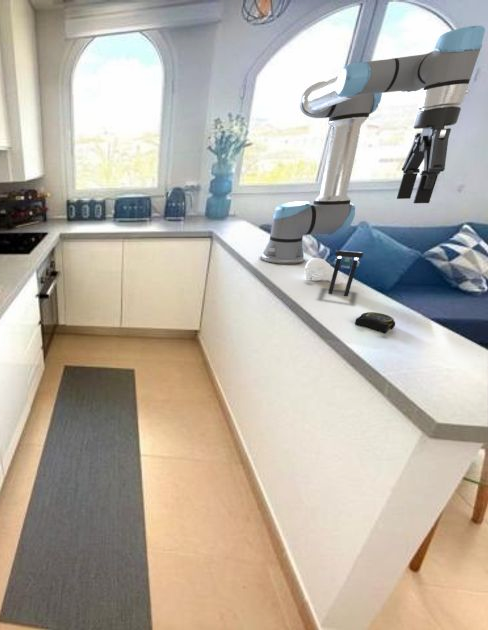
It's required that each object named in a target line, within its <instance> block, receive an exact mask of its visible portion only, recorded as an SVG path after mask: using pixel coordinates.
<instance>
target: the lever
mask: <svg viewBox="0 0 488 630" xmlns="http://www.w3.org/2000/svg"><path fill="white" fill-rule="evenodd" d="M338 256H341V257H342V259H341V263H340V268H342V269H343V268H344V269H351V266H352V263H353V259H354V258H358V259H363V256H364V252H362V251H348V250H338V249H337V250H336V251H335V253H334V257H338Z"/></svg>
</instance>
